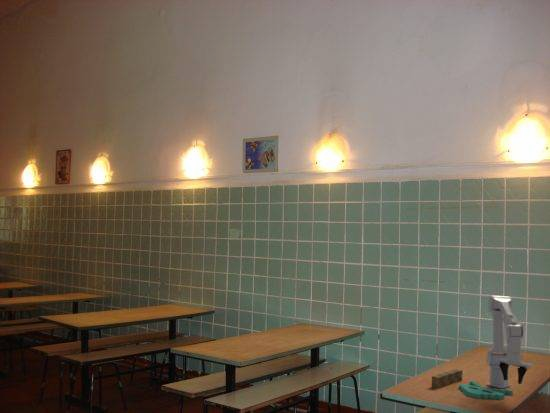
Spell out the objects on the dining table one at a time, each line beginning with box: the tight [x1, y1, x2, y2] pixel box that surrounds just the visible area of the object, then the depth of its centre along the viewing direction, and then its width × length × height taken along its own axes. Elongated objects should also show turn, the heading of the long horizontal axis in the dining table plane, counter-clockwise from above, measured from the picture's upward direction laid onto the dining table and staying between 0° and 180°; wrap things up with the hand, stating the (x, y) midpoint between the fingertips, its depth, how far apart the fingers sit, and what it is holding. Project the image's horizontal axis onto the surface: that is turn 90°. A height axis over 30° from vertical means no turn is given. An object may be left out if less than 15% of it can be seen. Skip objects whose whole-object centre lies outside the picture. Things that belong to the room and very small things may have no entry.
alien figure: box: [458, 380, 514, 400], centre depth 259 cm, size 20×2×20 cm
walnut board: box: [431, 368, 463, 389], centre depth 272 cm, size 24×3×5 cm, turn 133°
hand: (512, 381), depth 249 cm, fingers open, 6 cm apart
